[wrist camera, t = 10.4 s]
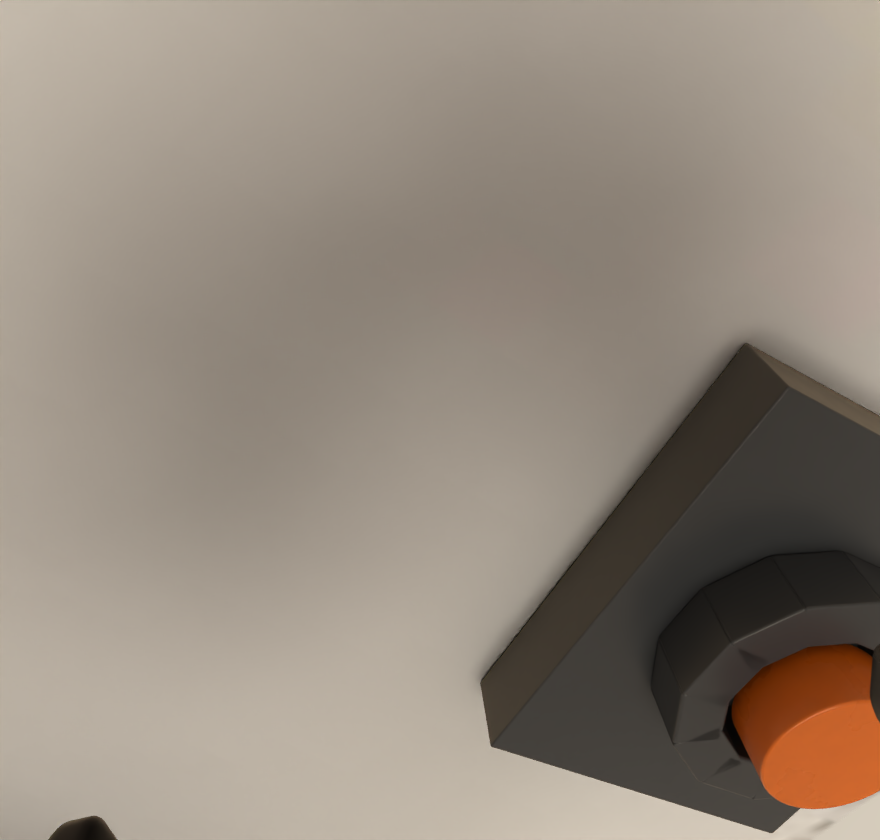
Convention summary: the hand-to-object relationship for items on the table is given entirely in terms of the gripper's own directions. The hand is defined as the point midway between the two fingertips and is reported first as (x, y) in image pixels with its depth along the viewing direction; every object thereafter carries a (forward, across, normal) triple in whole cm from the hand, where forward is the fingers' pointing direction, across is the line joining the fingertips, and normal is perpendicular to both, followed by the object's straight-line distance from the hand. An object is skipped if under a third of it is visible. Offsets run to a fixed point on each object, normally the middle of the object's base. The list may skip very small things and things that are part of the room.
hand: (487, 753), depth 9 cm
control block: (+10, -7, +9) cm, 15 cm away
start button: (+7, -7, +9) cm, 13 cm away
